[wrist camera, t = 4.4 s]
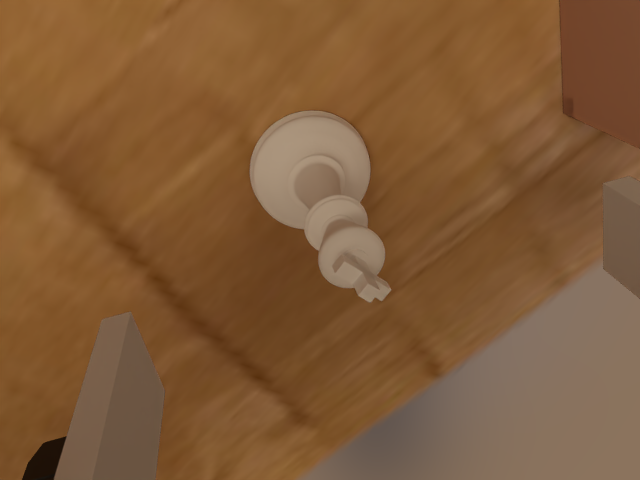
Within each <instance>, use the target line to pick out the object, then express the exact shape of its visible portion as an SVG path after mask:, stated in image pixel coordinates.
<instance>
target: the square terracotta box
mask: <svg viewBox="0 0 640 480" xmlns="http://www.w3.org/2000/svg"><path fill="white" fill-rule="evenodd" d="M560 24H561V54H562V85H563V113H564V114H566V115H568V116H571V117H573V118H575V119H577V120H579V121H581V122H583V123H586V124H588V125H590V126H592V127H594V128H596V129H599V130H601V131H603V132H605V133H607V134H609V135H611V136H614V137H616V138H618V139H620V140H622V141H624V142H626V143H629V144H631V145H633V146H635V147H637V148H639V149H640V0H560Z"/></svg>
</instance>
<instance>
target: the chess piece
mask: <svg viewBox="0 0 640 480" xmlns="http://www.w3.org/2000/svg"><path fill="white" fill-rule="evenodd" d="M370 171H371V168H370V159H369V155H368V152H367V148H366V146H365V143H364V141H363V139H362V137H361V136H360V134H359V133H358V132H357V130H356V129H355V128H354V127H353V126H352V125H351V124H350V123H348V122H347V121H346V120H344V119H342V118H341V117H339V116H336V115H334V114H331V113H328V112H324V111H315V110H310V111H301V112H297V113H293V114H290V115H288V116H286V117H284V118H282V119H280V120H278V121H277V122H275V123H274V124H273V125H272V126H270V127H269V128H268V129H267V130H266V131H265V132H264V134H263V135H262V136H261V137H260V139H259V141H258V142H257V144H256V146H255V148H254V151H253V153H252V157H251V162H250V180H251V185H252V188H253V191H254V194H255V196H256V197H257V199H258V201H259V202H260V204H261V205H262V207H263V208H264V209H265V210H266V211H267V213H268V214H269V215H271V216H272V217H273V218H274V219H276V220H277V221H279V222H281V223H283V224H285V225H287V226H290V227H293V228H298V229H304V231H305V235H306V238H307V240H308V242H309V243H310V244H311V245H312V246H313V247H314V248H315V249H316V250H318V251H319V254H318V264H319V268H320V271H321V273H322V275H323V276H324V277H325V279H326V280H327V281H329V282H330V283H331V284H333V285H335V286H338V287H342V288H355V290H356V292H357V295H358V296H359V297H361V298H363V299H364V300H366V301H368V302H370V303H371V302H372V301H373V299H374V298H377V299H379V300H380V301H383V299H384V298H385V297H386V296H387V295H388V293H389V292H390V291H391V288H390V286H389V284H388V283H387V282H386V281H385V280H383V279H381V278H380V277H378V276H377V275H378V273H379V272H380V271H381V269H382V267H383V264H384V261H385V248H384V245H383V243H382V241H381V239H380V238H379V236H378V235H377V234H376V233H375V232H373V231H372V230H370V229H368V217H367V213H366V211H365V209H364V207H363V206H362V205H361V203H360V202H361V200H362V199H363V197H364V195H365V193H366V191H367V188H368V185H369V180H370Z"/></svg>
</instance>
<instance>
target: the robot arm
mask: <svg viewBox="0 0 640 480" xmlns="http://www.w3.org/2000/svg"><path fill="white" fill-rule="evenodd" d="M603 269H604V270H605V271H607V272H608V273H609V274H610V275H612V276H613V277H614V278H615V279H616V280H618V281H619V282H620V283H621V284H622V285H624V286H625V287H626V288H627V289H628V290H630V291H631V292H632V293H633V294H635V295H636V296H637V297H638V298H639V299H640V181H638V180H636V179H634V178H632V177H630V176H627V177H624V178H620V179H616V180H612V181H609V182H605V183H603ZM164 397H165V390H164V387H163V385H162V383H161V380H160V378H159V376H158V373H157V371H156V369H155V366H154V364H153V362H152V359H151V357H150V355H149V353H148V350H147V348H146V346H145V343H144V341H143V339H142V336H141V334H140V332H139V329H138V327H137V325H136V323H135V320H134V318H133V316H132V313H131V312H127V313H123V314H120V315H116V316H112V317H108V318H105V319H102V321H101V325H100V328H99V331H98V335H97V338H96V341H95V344H94V348H93V351H92V354H91V358H90V361H89V364H88V368H87V371H86V374H85V378H84V381H83V384H82V388H81V391H80V394H79V397H78V401H77V404H76V407H75V411H74V414H73V417H72V421H71V424H70V427H69V431H68V434H67V436H66V437H63V438H59V439H55V440H52V441H48V442H45V443H43V444H42V446H41V447H40V448H39V450H38V451H37V452H36V453H35V455H34V456H33V457H32V459H31V460H30V461H29V462H28V465H27V467H26V470H25V473H24V476H23V478H22V480H155V478H156V469H157V460H158V451H159V442H160V433H161V424H162V415H163V406H164Z"/></svg>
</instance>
